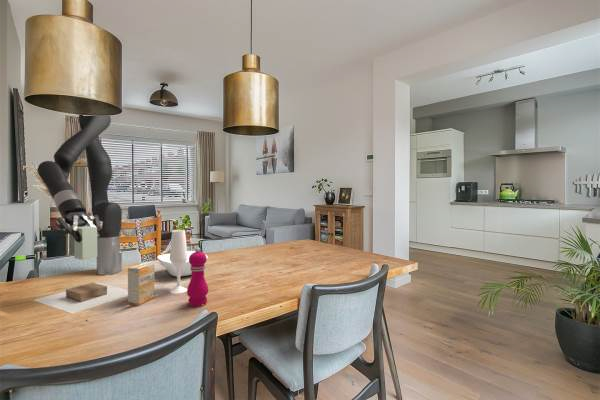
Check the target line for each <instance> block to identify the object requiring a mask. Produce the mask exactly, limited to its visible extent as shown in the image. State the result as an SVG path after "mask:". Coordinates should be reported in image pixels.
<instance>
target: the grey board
mask: <svg viewBox="0 0 600 400" xmlns="http://www.w3.org/2000/svg"><path fill="white" fill-rule="evenodd" d="M96 284H100V285H103V286H107V295H103V296H100V297H97V298H94V299H90V300H87V301H84V302H78V301H74V300H71V299H68V298H66V290H65V291H62V292H59V293H54V294H51V295H47V296H43V297H40V298H35V299H33V302H37V303H40V304H43V305H45V306H49V307H52V308H55V309H57V310H60V311H62V312H66V313H69V314H72V315H73V314H76V313H80V312H82V311H86V310H88V309H91V308H95V307H98V306H100V305H103V304H107V303H109V302H112V301H115V300H119V299H122V298H124V297H128V289H124V288H121V287H116V286H113V285H110V284H106V283H105V284H104V283H101V282H96Z"/></svg>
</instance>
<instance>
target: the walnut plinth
mask: <svg viewBox="0 0 600 400" xmlns="http://www.w3.org/2000/svg"><path fill="white" fill-rule="evenodd" d="M96 283H97V282H96ZM96 283H95V282H90V283H89V282H88V283H86V284H82V285H78V286H74V287H70V288H66V289H65V291H66V298H68V299H71V300H74V301H78V302H84V301H87V300H90V299H94V298H97V297H100V296H103V295H107V286H103V285H100V284H96Z"/></svg>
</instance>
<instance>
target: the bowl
mask: <svg viewBox="0 0 600 400" xmlns="http://www.w3.org/2000/svg"><path fill="white" fill-rule="evenodd" d="M194 252H196V251H195V250H189V251H188V250H187V256H188V258H187V260H186V262H185V263H184V264H183V265H182V266H180V277H185V276H192V271H191V270H190V269H191V267H190V266H191V264H190V263H189V257H190V255H191V254H192V253H194ZM204 254H205V255H206V257H207V260H208V259H209V257H208V255H207V254H206V253H204ZM169 258H170V252H169V253H164V254H159V255H157V261H158V262H159V264H160V265H161V267H163V268H166V270H167V272H168V273H169V275H171V276H172V277H176V278H177V266H175V265H174V264H172V263H171V261H170V259H169Z"/></svg>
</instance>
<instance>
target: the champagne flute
mask: <svg viewBox="0 0 600 400" xmlns="http://www.w3.org/2000/svg"><path fill="white" fill-rule="evenodd" d="M170 239H171V240H170V249H169V253H170V258H169V259H170V261H171V263H172V264H174V265H175V266H177V277H176V286H175V287H173V288H172V289H170V290H169V293H170V294H172V295H175V294H176V295H177V294H184V293H187V289H188V288H186V287H184V286H181V276H180V266H182V265H183V264H184V263H185V262H186V260H187V258H188V256H187V251H188V248H187V237H186V230H185V229H173V230H172V231H171V238H170Z"/></svg>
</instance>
